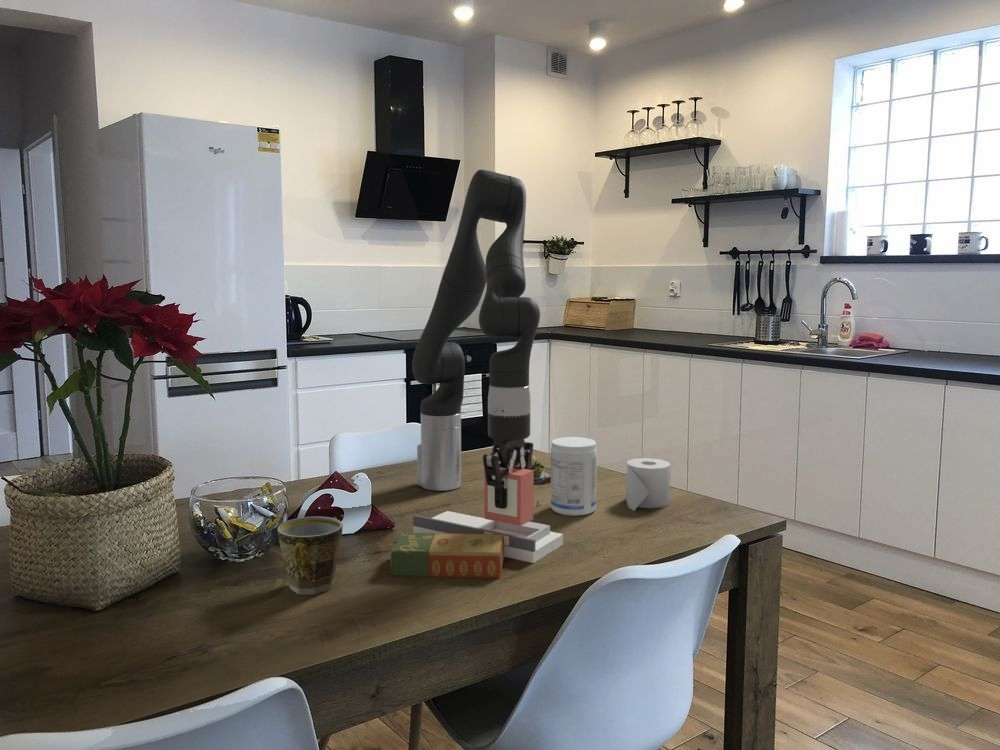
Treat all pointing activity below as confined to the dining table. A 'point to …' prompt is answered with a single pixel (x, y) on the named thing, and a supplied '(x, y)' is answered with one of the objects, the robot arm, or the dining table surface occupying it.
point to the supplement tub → (573, 475)
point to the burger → (540, 472)
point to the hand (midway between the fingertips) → (508, 503)
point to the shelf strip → (518, 540)
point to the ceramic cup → (310, 552)
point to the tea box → (512, 499)
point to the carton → (448, 555)
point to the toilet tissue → (647, 483)
